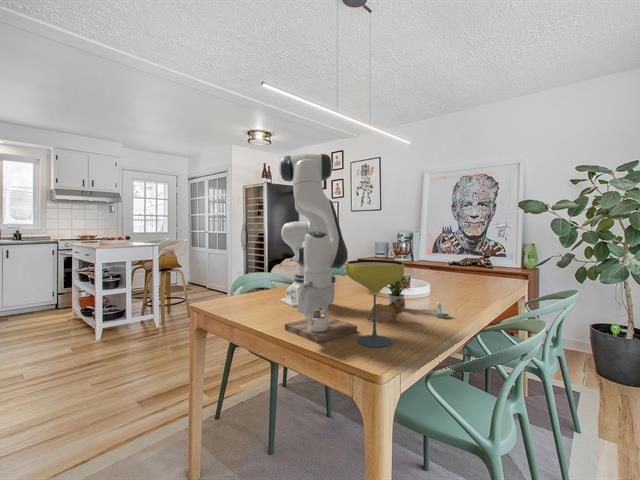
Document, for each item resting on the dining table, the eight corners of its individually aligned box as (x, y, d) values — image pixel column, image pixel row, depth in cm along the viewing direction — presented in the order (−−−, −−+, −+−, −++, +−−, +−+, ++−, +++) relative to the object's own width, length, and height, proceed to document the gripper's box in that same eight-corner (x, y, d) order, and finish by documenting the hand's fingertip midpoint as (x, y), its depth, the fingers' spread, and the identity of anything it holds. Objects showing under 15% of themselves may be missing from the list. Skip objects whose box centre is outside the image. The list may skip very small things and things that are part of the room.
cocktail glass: (414, 341, 104) (415, 262, 103) (382, 357, 91) (383, 267, 90) (368, 329, 117) (368, 258, 116) (334, 341, 104) (334, 262, 103)
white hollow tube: (304, 330, 109) (304, 317, 109) (313, 325, 114) (313, 313, 114) (321, 332, 106) (321, 319, 106) (330, 327, 111) (329, 314, 111)
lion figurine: (402, 318, 130) (403, 296, 129) (407, 322, 124) (407, 299, 124) (366, 319, 129) (366, 296, 128) (369, 323, 123) (369, 299, 123)
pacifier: (446, 314, 137) (431, 313, 137) (447, 299, 137) (432, 299, 137) (452, 319, 130) (437, 318, 130) (453, 303, 129) (437, 303, 130)
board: (284, 329, 116) (284, 307, 116) (323, 320, 128) (323, 299, 127) (317, 343, 102) (317, 317, 102) (357, 331, 114) (357, 308, 113)
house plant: (413, 314, 136) (413, 275, 135) (379, 312, 140) (379, 274, 139) (413, 306, 149) (413, 271, 149) (382, 304, 153) (382, 270, 153)
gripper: (310, 286, 99) (310, 331, 99) (337, 276, 117) (337, 315, 117) (292, 284, 102) (292, 328, 102) (322, 275, 120) (322, 313, 120)
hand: (317, 321), depth 110 cm, fingers open, 8 cm apart
